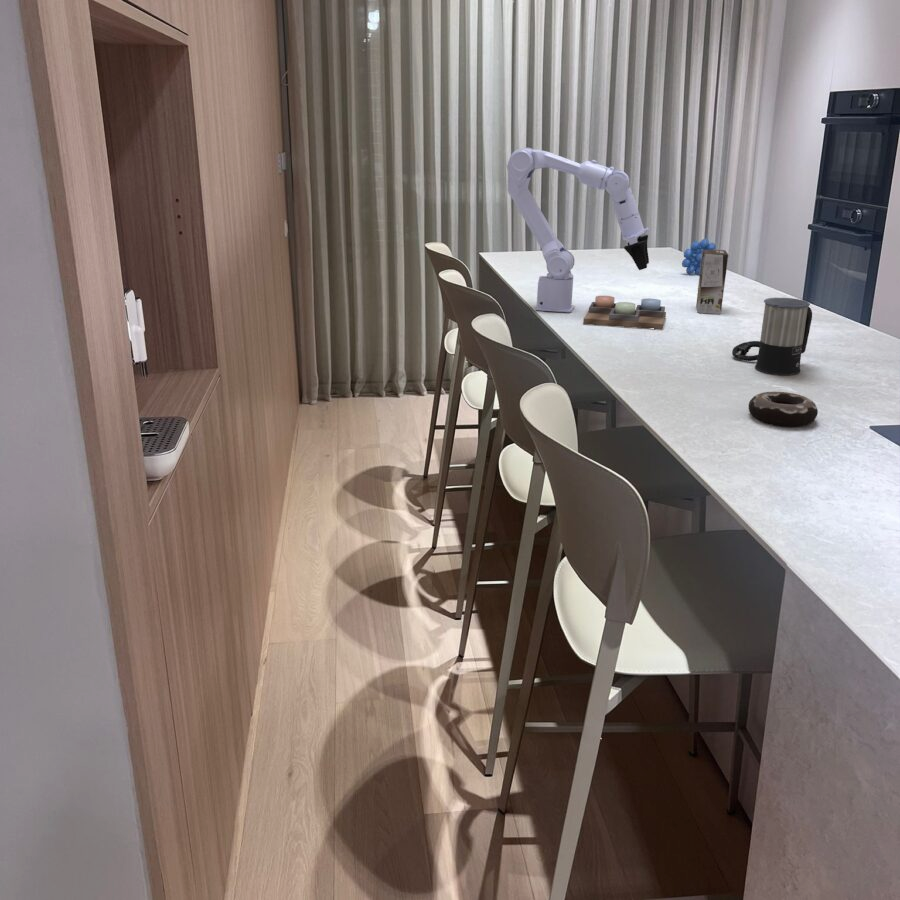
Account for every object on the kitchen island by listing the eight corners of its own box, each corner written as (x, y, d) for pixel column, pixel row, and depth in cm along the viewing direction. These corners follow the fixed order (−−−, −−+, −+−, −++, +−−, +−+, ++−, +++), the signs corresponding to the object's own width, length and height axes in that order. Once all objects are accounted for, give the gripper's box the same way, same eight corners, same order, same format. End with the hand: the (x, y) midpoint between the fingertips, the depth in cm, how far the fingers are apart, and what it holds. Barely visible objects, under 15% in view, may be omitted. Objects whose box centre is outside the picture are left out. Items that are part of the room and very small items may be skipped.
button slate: (639, 310, 232) (640, 301, 232) (641, 306, 237) (642, 297, 236) (659, 312, 231) (660, 302, 230) (660, 308, 236) (661, 299, 235)
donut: (799, 409, 166) (803, 388, 165) (826, 430, 156) (830, 408, 154) (738, 409, 166) (741, 388, 165) (760, 430, 155) (764, 408, 154)
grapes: (709, 272, 305) (714, 236, 300) (717, 276, 298) (721, 239, 294) (676, 272, 304) (680, 236, 299) (683, 276, 297) (686, 239, 293)
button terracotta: (593, 307, 235) (594, 298, 235) (595, 303, 240) (596, 295, 239) (612, 308, 234) (613, 299, 233) (614, 305, 239) (615, 296, 238)
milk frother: (794, 378, 185) (805, 308, 179) (718, 367, 193) (727, 298, 187) (808, 363, 196) (819, 296, 191) (736, 353, 204) (745, 288, 199)
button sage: (614, 314, 228) (614, 305, 227) (615, 310, 232) (616, 301, 231) (633, 316, 226) (634, 306, 226) (635, 312, 231) (636, 302, 230)
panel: (583, 324, 229) (584, 312, 228) (590, 312, 243) (591, 301, 242) (662, 329, 224) (663, 318, 223) (665, 317, 238) (666, 306, 237)
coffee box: (721, 314, 242) (729, 254, 236) (697, 313, 243) (703, 253, 237) (719, 307, 250) (726, 249, 245) (695, 306, 252) (701, 248, 246)
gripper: (641, 214, 224) (657, 265, 228) (645, 208, 237) (660, 257, 241) (614, 224, 227) (630, 274, 230) (619, 218, 240) (635, 266, 243)
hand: (644, 266), depth 236 cm, fingers open, 7 cm apart
